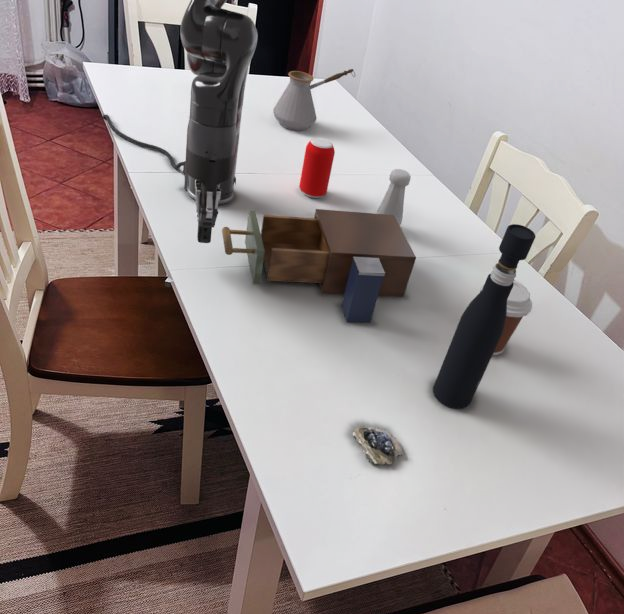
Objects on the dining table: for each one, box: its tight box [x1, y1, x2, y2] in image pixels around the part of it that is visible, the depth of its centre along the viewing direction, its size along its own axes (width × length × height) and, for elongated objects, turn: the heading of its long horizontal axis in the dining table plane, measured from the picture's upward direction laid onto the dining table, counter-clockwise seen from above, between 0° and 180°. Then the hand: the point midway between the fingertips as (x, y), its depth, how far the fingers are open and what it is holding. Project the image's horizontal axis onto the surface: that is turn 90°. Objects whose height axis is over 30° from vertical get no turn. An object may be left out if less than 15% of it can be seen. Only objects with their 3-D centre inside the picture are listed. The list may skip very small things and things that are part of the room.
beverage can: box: [299, 137, 336, 199], centre depth 143 cm, size 6×6×12 cm
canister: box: [340, 257, 385, 323], centre depth 112 cm, size 4×4×10 cm
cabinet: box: [313, 208, 417, 298], centre depth 123 cm, size 16×15×9 cm
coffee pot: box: [272, 68, 356, 132], centre depth 172 cm, size 21×12×15 cm, turn 120°
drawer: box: [221, 209, 329, 286], centre depth 118 cm, size 20×14×7 cm
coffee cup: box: [479, 279, 533, 356], centre depth 113 cm, size 9×9×12 cm
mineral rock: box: [352, 425, 405, 466], centre depth 92 cm, size 7×8×2 cm
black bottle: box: [432, 223, 536, 410], centre depth 95 cm, size 6×6×30 cm
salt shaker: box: [375, 168, 412, 226], centre depth 138 cm, size 6×6×13 cm
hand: (203, 240), depth 114 cm, fingers closed
